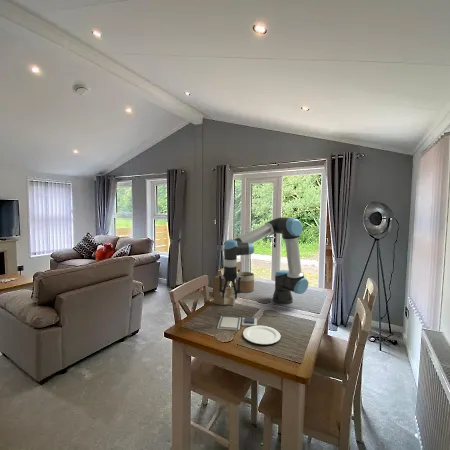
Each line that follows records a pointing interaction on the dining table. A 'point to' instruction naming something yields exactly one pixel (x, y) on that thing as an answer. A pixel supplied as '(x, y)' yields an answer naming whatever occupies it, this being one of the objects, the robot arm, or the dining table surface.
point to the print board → (229, 323)
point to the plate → (261, 335)
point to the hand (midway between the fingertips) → (229, 303)
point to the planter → (245, 281)
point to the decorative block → (217, 293)
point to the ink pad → (249, 321)
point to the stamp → (229, 296)
